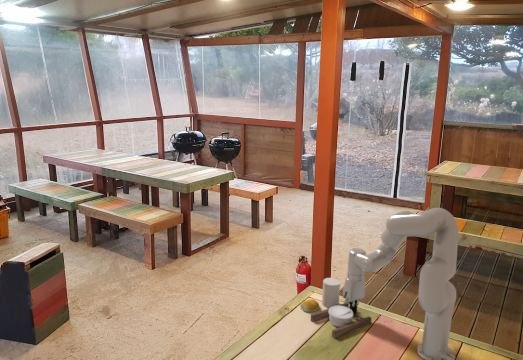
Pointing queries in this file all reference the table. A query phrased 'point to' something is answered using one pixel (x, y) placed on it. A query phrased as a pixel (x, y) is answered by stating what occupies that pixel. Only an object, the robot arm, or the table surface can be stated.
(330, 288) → the cup
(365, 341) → the table surface
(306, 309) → the bread roll
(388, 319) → the table surface
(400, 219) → the robot arm
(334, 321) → the ramekin
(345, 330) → the walnut open-sided frame
